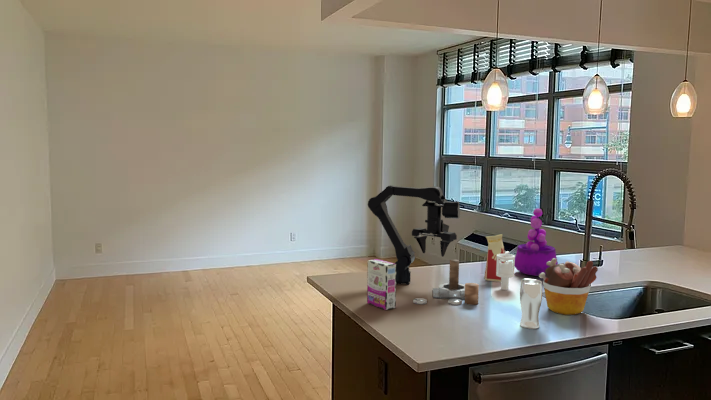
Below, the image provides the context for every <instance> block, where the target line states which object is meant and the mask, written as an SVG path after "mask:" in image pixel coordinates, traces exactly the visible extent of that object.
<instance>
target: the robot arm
mask: <svg viewBox="0 0 711 400" xmlns="http://www.w3.org/2000/svg"><path fill="white" fill-rule="evenodd" d="M392 196H400V197H410V198H411V197H412V198H420V199H423V200H425V202H423V204H421V206H422V207H426V219H425V221H424V222H425V223H426V228H424V227H415V228H413V229H412V230H411V236H412V237H413V238H414V239H416V242H417V243H418V246H419V247H420V249H421V252H422V254H425V253H426V251H427V249H426V246H427V245H426V244H427V243H426V240H427V238H428V236H429V237H434V238H435V237H436V238H440V239H441V240H440V241H439V243H440V244H439V245H440V256H441V257H444V256H445V254H446V251H447V249H448V247H449V245H450V243H451V242H454V241H456V240H457V237H458V236H457V233H456V232H455V231H454V232H453V231H449V228H450V225H449V224H446V223H444V220H443V219H442V216H443V217H444V219H454V220H455V219H458V220H460V217H461V206H460V202H459V201H448V200H447V199H446V197H445V195H444V194H443V190H442V188H441V187H440V186H426V187H425V186H424V187H414V186H413V187H411V186H403V185H401V186H400V185H399V186H398V185H393V184H390V185H388V186H387V185H386V187H385V188H384V189H383V190H382V191H380V192H379V193H378V194H377V195H375V196H373V197H371V198H369V200H368V201H367V206H368V208H369V210H370V211H371V212H372V214H373V215H374V216H376V218H377V219H378V220H379V222H380V223H381V225H382V227H383V229H384V231H385V234H387V236H388V239H389V240H390V241H391V244H392V246H393V247H394V251H395V256H396V260H397V261H396V262H394V264H396V285H409V284H410V282H411V277H412V275H411V270H410V267H411V264H413V262H414V261H415V260H416V259H415V258H416V257H415V256H416V255H415V253H416V252H415V251H414V250H413V247H412V245H411V244H409V245H407V244H406V243H405V242H404V240H403V238H402V237H401V234H400V233H399V231H398V229H397V227H396V225H395V223H394V222H393V220H392V219H391V216H390V214H389V211H388V204H387V203H386V202H387V201H389V199H390V198H391V197H392Z"/></svg>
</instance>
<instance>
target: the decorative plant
mask: <svg viewBox="0 0 711 400" xmlns="http://www.w3.org/2000/svg"><path fill="white" fill-rule="evenodd" d="M532 213H533V214H532V216H531V217H530V226H531V228H532V229H531V228H530V229H529V230H528V231H527V236H526V237H527V240H528V241H527V242H526V243H523V244H519V245H518V246H517V248H516V254H515V255H514V256H515V266H514V269H516V270H517V271H518V272H520V273H522V274H525V275H528V276H533V277H539V275H540V274H541V273H542V272H544V273H545V270H546V269H547V268H548V267H550V266H548V265H547V262H548V261H551V260H552V259H553V258H556V259H557V260H558V258H557V252H556V250H557V249H556V248H555V247H554V246H551V245H548V244H547V243H548V241H547V240H546V236H547V231H546V230H545V229H543V228H541V227H542V225H543V222H542V219H540V217H542V215H543V210H542V209H541V208H538V207H537V208H535V209H534V210H533V211H532ZM556 264H559V262H558V261H557V262H556ZM545 276H546V273H545Z"/></svg>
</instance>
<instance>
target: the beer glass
mask: <svg viewBox="0 0 711 400" xmlns="http://www.w3.org/2000/svg"><path fill="white" fill-rule="evenodd" d="M542 300H543V280H542V281H541V280H540V279H534V278H522V279H521V280H520V288H519V301H520V303H519V304H520V308H521V318H520V321H519V322H520V323H519V325H520V327H521V328H524V329H529V330H534V329H538V328H540V321H539V317H540V310H541V306H542Z"/></svg>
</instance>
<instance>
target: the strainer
mask: <svg viewBox="0 0 711 400" xmlns="http://www.w3.org/2000/svg"><path fill="white" fill-rule="evenodd" d="M515 256H516V255H515V254H510V251H508V250H507V251H506V250H505V254H497V265H496V276H498V277H501V282H500V290H503V291H508V290H510V288H509V285H510V284H509V282H510V279H511V278H514V277H515ZM499 259H501V260H499ZM498 261H499V262H498ZM501 261H502V262H504V261H506V262H505V263H501Z"/></svg>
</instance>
